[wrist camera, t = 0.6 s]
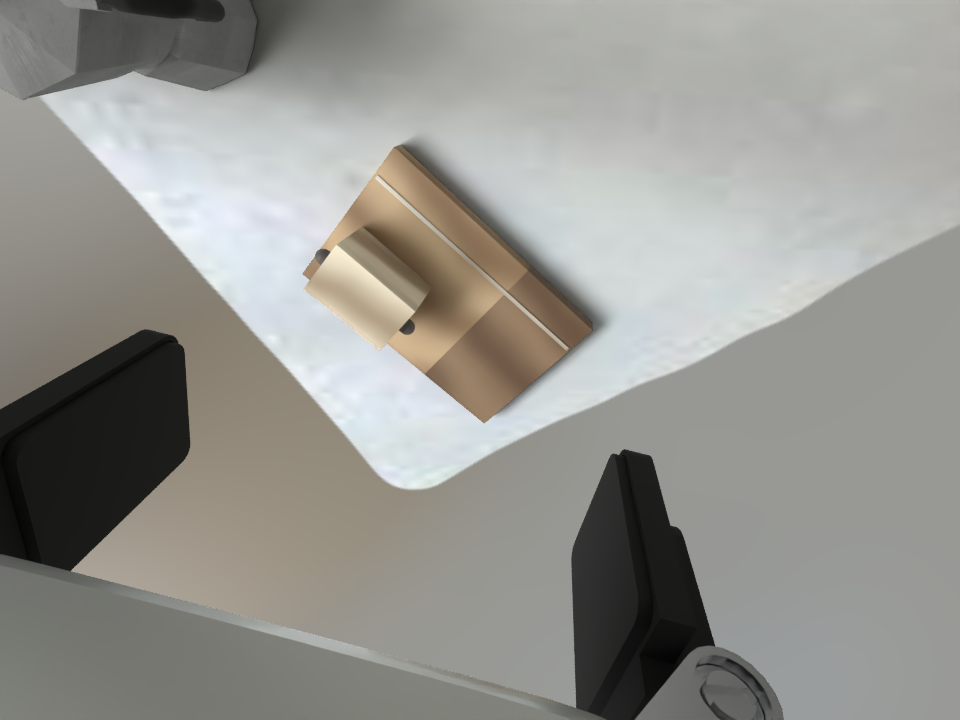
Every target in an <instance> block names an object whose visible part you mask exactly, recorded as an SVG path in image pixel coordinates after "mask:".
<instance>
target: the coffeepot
mask: <svg viewBox="0 0 960 720" xmlns="http://www.w3.org/2000/svg"><path fill="white" fill-rule="evenodd" d="M256 25H257V18H256V16H255V13H254V10H253V7H252V4H251V1H250V0H0V88H1V89H3V90H4V91H6V92H9V93H10V94H12V95H14V96H16V97H18V98H19V99H21V100H25V99H27V98H32V97H36V96H40V95H45V94H49V93H53V92H58V91H62V90H66V89H71V88H75V87H79V86H84V85H88V84H92V83H97V82H101V81H105V80H110V79H114V78H118V77H120V76H123V75H125V74H127V73H130V72H132V71H135V72H137V73H140V74H142V75H144V76H147V77H151V78H155V79H159V80H163V81H167V82H171V83H175V84H179V85H183V86H187V87H191V88H195V89H199V90H203V91H208V90H210V89H212V88H214V87H217V86H220V85H223V84H225V83H228V82H230V81H231V80H233V79H235V78H238V77H240V76H242V75H244V74H246V71H247V67H248V64H249V61H250V58H251V55H252V52H253V49H254V42H255V30H256Z"/></svg>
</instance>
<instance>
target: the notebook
mask: <svg viewBox="0 0 960 720" xmlns="http://www.w3.org/2000/svg"><path fill="white" fill-rule="evenodd" d="M362 226H363V227H364V228H365V229H366V230H367V231H368V232H369V233H371V234H372V235H373V236H374V237H375V238H376V239H377V240H379V241H380V242H381V243H382V244H383V245H384V246H385V247H387V248H388V249H389V250H390V251H391V252H392V253H394V254H395V255H396V256H397V257H398V258H399V259H400V260H402V261H403V262H404V263H405V264H406V265H407V266H408V267H410V268H411V269H412V270H413V271H414V272H415V273H416V274H418V275H419V276H420V277H421V278H422V279H423V280H425V281H426V282H427V283H428V284H429V285H430V286H431V287H432V288H431V290H430V291H429V293H428V294H427V296H426V297H425V298H424V300H423V301H422V303H421V304H420V306H419V307H418V309H417V310H416V312H415V313H414V314H413V315H412V316H411V317H410V318H409V319H410V320H412V321H413V322H414V324H415V330H414V332H413V333H412V334H410V335H404V334H403V333H401V332H400V331H399V330H398V332H397V333H396V334H395V335H394V336H393V337H392V338H391V339H390V340H389V341H388V343H387V344H388V345H389V346H391V347H392V348H393V349H394V350H396V351H397V352H398V353H399V354H400V355H402V356H403V357H404V358H405V359H407V360H408V361H409V362H410V363H411V364H413V365H414V366H415V367H416V368H417V369H419V370H420V371H421V372H422V373H424V374H425V375H426V376H427V377H428V378H430V379H431V380H432V381H433V382H434V383H436V384H437V385H438V386H439V387H441V388H442V389H443V390H444V391H445V392H447V393H448V394H449V395H450V396H452V397H453V398H454V399H455V400H456V401H458V402H459V403H460V404H461V405H462V406H464V407H465V408H466V409H467V410H469V411H470V412H471V413H472V414H473V415H475V416H476V417H477V418H478V419H479V420H481V421H482V422H483V423H485V422H487V421H488V420H489V419H490V418H491V417H492V416H494V415H495V414H496V413H497V412H498V411H500V410H501V409H502V408H503V407H504V406H505V405H507V404H508V403H509V402H510V401H511V400H512V399H514V398H515V397H516V396H517V395H518V394H519V393H521V392H522V391H523V390H524V389H525V388H526V387H528V386H529V385H530V384H531V383H532V382H533V381H535V380H536V379H537V378H538V377H539V376H540V375H542V374H543V373H544V372H545V371H546V370H547V369H549V368H550V367H551V366H552V365H553V364H554V363H556V362H557V361H558V360H559V359H560V358H561V357H563V356H564V355H565V354H566V353H567V352H568V351H570V350H571V349H572V348H573V347H574V346H575V345H577V344H578V343H579V342H580V341H581V340H582V339H584V338H585V337H586V336H587V335H588V334H589V333H591V332H592V331H593V328H592V322H591V321H589V320H588V319H587V318H586V317H585V316H584V315H583V314H582V313H581V312H580V311H579V310H578V309H577V308H575V307H574V306H573V305H572V304H571V303H570V302H569V301H568V300H567V299H566V298H565V297H564V296H563V295H561V294H560V293H559V292H558V291H557V290H556V289H555V288H554V287H553V286H552V285H551V284H550V283H549V282H547V281H546V280H545V279H544V278H543V277H542V276H541V275H540V274H539V273H538V272H537V271H536V270H535V269H534V268H532V267H531V266H530V265H529V264H528V263H527V262H526V261H525V260H524V259H523V258H522V257H521V256H520V255H518V254H517V253H516V252H515V251H514V250H513V249H512V248H511V247H510V246H509V245H508V244H507V243H506V242H504V241H503V240H502V239H501V238H500V237H499V236H498V235H497V234H496V233H495V232H494V231H493V230H492V229H490V228H489V227H488V226H487V225H486V224H485V223H484V222H483V221H482V220H481V219H480V218H479V217H478V216H476V215H475V214H474V213H473V212H472V211H471V210H470V209H469V208H468V207H467V206H466V205H465V204H464V203H463V202H461V201H460V200H459V199H458V198H457V197H456V196H455V195H454V194H453V193H452V192H451V191H450V190H449V189H447V188H446V187H445V186H444V185H443V184H442V183H441V182H440V181H439V180H438V179H437V178H436V177H435V176H433V175H432V174H431V173H430V172H429V171H428V170H427V169H426V168H425V167H424V166H423V165H422V164H421V163H419V162H418V161H417V160H416V159H415V158H414V157H413V156H412V155H411V154H410V153H409V152H408V151H407V150H405V149H404V148H403V147H402V146H401V145H398V146H396V147H394V148H393V149H392V151H391V152H390V154H389V155H388V156H387V158H386V159H385V160H384V162H383V163H382V165H381V166H380V167H379V169H378V170H377V172H376V173H375V174H374V176H373V177H372V178H371V180H370V181H369V183H368V184H367V185H366V187H365V188H364V190H363V191H362V192H361V194H360V195H359V196H358V198H357V199H356V201H355V202H354V203H353V205H352V206H351V207H350V209H349V210H348V212H347V213H346V214H345V216H344V217H343V219H342V220H341V221H340V223H339V224H338V225H337V227H336V228H335V230H334V231H333V232H332V234H331V235H330V237H329V238H328V239H327V241H326V242H325V243H324V245H323V246H322V248H321V249H327V250H329V251H330V252H331V251H332V250H333V248H334V247H335V246H336V244H338V243H339V242H341V241H342V240H344V239H345V238H346V237H348V236H349V235H351V234H352V233H354V232H355V231H356V230H358V229H359V228H361V227H362ZM320 266H321V265H320V264H318V263H317V261H316V259H315V257H314V259H313V260H312V261H311V263H310V264H309V266H308V267H307V268H306V270H305V271H304V272H303V275H304V276H306V277H307V278H308V279H309V280H311V278H312V277H313V275H314V274H315V273H316V271H317V270H318V269H319V267H320Z"/></svg>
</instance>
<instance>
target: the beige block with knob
mask: <svg viewBox="0 0 960 720" xmlns="http://www.w3.org/2000/svg"><path fill="white" fill-rule="evenodd" d="M315 259H316V261H317V263H318V264H320V265H321V266H320V267H319V269H318V270H317V271H316V273H315V274H314V275H313V277H312V278H311V280H310V281H309V282H308V284H307V285H306V286H305V288H304V290H305V291H306V292H308V293H309V294H310V295H311V296H313V297H314V298H315V299H316V300H318V301H319V302H320V303H321V304H322V305H324V306H325V307H326V308H327V309H329V310H330V311H331V312H332V313H333V314H335V315H336V316H337V317H338V318H340V319H341V320H342V321H343V322H344V323H346V324H347V325H348V326H349V327H351V328H352V329H353V330H354V331H356V332H357V333H358V334H359V335H360V336H362V337H363V338H364V339H365V340H367V341H368V342H369V343H370V344H371V345H373V346H374V347H375V348H376V349H378V350H379V351H380V350H381V349H382V348H383V347H384V346H385V345H386V344H387V343H388V341H389V340H390V339H391V338H392V337H393V336H394V335H395V334H396V333H397V332H398V330H399V331H400V332H401V333H403V334H404V335H410V334H412V333H413V332H414V330H415V324H414V322H413V321H412V320H410V319H409V318H410V317H411V316H412V315H413V314H414V313H415V312H416V310H417V309H418V307H419V306H420V304H421V303H422V301H423V300H424V298H425V297H426V296H427V294H428V293H429V291H430V290H431V288H432V287H431V286H430V285H429V284H428V283H427V282H426V281H425V280H423V279H422V278H421V277H420V276H419V275H418V274H416V273H415V272H414V271H413V270H412V269H411V268H410V267H408V266H407V265H406V264H405V263H404V262H403V261H402V260H400V259H399V258H398V257H397V256H396V255H395V254H394V253H392V252H391V251H390V250H389V249H388V248H387V247H385V246H384V245H383V244H382V243H381V242H380V241H379V240H377V239H376V238H375V237H374V236H373V235H372V234H371V233H369V232H368V231H367V230H366V229H365V228H364V227H363V226H362V227H361V228H359V229H358V230H356V231H355V232H354V233H352V234H351V235H349V236H348V237H346V238H345V239H344V240H342V241H341V242H339V243H338V244H336V246H335V247H334V248H333V250H332V251H331V252H330V251H329V250H327V249H320V250H318V251H317V252H316V254H315Z"/></svg>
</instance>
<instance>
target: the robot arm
mask: <svg viewBox="0 0 960 720" xmlns="http://www.w3.org/2000/svg"><path fill="white" fill-rule="evenodd" d="M189 448H190V432H189V416H188V400H187V385H186V368H185V353H184V348H183V346H181V345H180V344H178V341H177V339H176V338H175V337H174V336H172V335H168V334H164V333H159V332H156V331H152V330H142V331H140V332H138V333H136V334H134V335H132V336H130V337H129V338H127V339H125V340H123V341H122V342H120V343H118V344H116V345H115V346H113V347H111V348H109V349H107V350H105V351H104V352H102V353H100V354H99V355H97V356H95V357H93V358H91V359H89V360H88V361H86V362H84V363H82V364H80V365H79V366H77V367H75V368H73V369H72V370H70V371H68V372H66V373H64V374H63V375H61V376H59V377H57V378H55V379H54V380H52V381H50V382H49V383H47V384H45V385H43V386H41V387H39V388H38V389H36V390H34V391H32V392H31V393H29V394H27V395H25V396H23V397H22V398H20V399H18V400H16V401H14V402H13V403H11V404H9V405H7V406H5V407H4V408H2V409H0V720H784V718H783V712H782V708H781V705H780V703H779V700H778V698H777V696H776V694H775V692H774V691H773V689H772V688H771V686H770V685H769V683H768V682H767V681H766V679H765V678H764V677H763V676H762V675H761V674H760V673H759V672H758V671H757V670H756V669H755V668H754V667H753V666H752V665H751V664H750V663H748V662H747V661H746V660H744V659H743V658H741V657H740V656H739V655H737V654H735V653H733V652H730V651H728V650H726V649H724V648H720V647H715V644H714V640H713V637H712V634H711V630H710V627H709V623H708V620H707V616H706V613H705V609H704V606H703V602H702V599H701V596H700V592H699V589H698V585H697V582H696V578H695V575H694V571H693V568H692V565H691V562H690V558H689V554H688V551H687V547H686V544H685V540H684V537H683V535H682V532H681V531H680V530H679V529H678V528H677V527H673V526H670V523H669V519H668V516H667V512H666V508H665V504H664V501H663V497H662V493H661V489H660V486H659V482H658V478H657V474H656V470H655V467H654V463H653V459H652V457H651V456H649V455H645V454H641V453H637V452H633V451H629V450H625V449H624V450H622V452H621V453H620V455H617V454H612V455H611V456H610V458H609V460H608V463H607V465H606V468H605V470H604V472H603V475H602V477H601V480H600V482H599V484H598V488H597V490H596V492H595V494H594V497H593V499H592V501H591V504H590V506H589V509H588V511H587V514H586V516H585V518H584V521H583V523H582V526H581V528H580V531H579V533H578V536H577V538H576V540H575V543H574V546H573V551H572V592H573V620H574V621H573V622H574V652H575V679H576V680H575V681H576V708H574V707H571V706H568V705H565V704H562V703H559V702H556V701H553V700H550V699H547V698H543V697H540V696H536V695H533V694H529V693H526V692H523V691H519V690H516V689H512V688H508V687H505V686H501V685H498V684H495V683H491V682H488V681H484V680H480V679H477V678H474V677H470V676H467V675H463V674H459V673H455V672H452V671H448V670H445V669H441V668H437V667H433V666H430V665H426V664H422V663H418V662H414V661H411V660H407V659H403V658H399V657H396V656H392V655H389V654H385V653H381V652H377V651H373V650H370V649H366V648H362V647H359V646H355V645H351V644H347V643H344V642H340V641H336V640H333V639H329V638H325V637H321V636H317V635H314V634H310V633H306V632H302V631H298V630H295V629H291V628H287V627H283V626H279V625H276V624H272V623H268V622H264V621H260V620H256V619H253V618H249V617H245V616H241V615H237V614H234V613H230V612H226V611H222V610H218V609H214V608H211V607H207V606H203V605H199V604H195V603H191V602H188V601H183V600H180V599H176V598H172V597H168V596H164V595H160V594H157V593H153V592H149V591H145V590H141V589H137V588H133V587H129V586H126V585H122V584H118V583H114V582H110V581H106V580H102V579H98V578H94V577H90V576H86V575H82V574H79V573H75V572H71V570H72V569H73V568H74V567H75V566H76V565H77V564H78V563H79V562H80V561H81V560H82V559H83V558H84V557H85V556H86V555H87V554H88V553H89V552H90V551H91V550H92V549H93V548H94V547H95V546H97V545H98V544H99V543H100V542H101V541H102V540H103V539H104V538H105V537H106V536H107V535H108V534H109V533H110V532H111V531H112V530H113V529H114V528H115V527H116V526H117V525H118V524H119V523H120V522H121V521H122V520H123V519H124V518H125V517H126V516H127V515H128V514H129V513H130V512H131V511H132V510H133V509H134V508H135V507H137V506H138V505H139V504H140V503H141V502H142V501H143V500H144V499H145V498H146V497H147V496H148V495H149V494H150V493H151V492H152V491H153V490H154V489H155V488H156V487H157V486H158V485H159V484H160V483H161V482H162V481H163V480H164V479H165V478H166V477H167V476H168V475H169V474H170V473H171V472H172V471H174V470H175V469H176V467H178V466H179V465H180V464H181V463H182V462H183V461H184V459H185V458H186V456H187V455H188V452H189Z"/></svg>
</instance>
